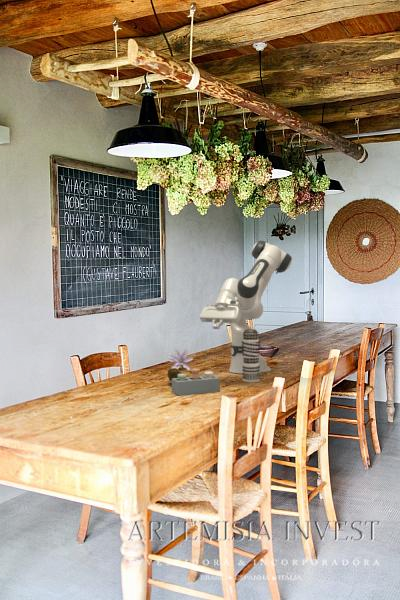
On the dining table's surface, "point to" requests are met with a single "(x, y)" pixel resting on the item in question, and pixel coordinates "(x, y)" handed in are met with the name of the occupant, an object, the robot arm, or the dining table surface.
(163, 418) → the dining table surface
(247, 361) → the decorative candle
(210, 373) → the cream button
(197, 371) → the terracotta button
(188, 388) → the grey slotted holder
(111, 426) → the dining table surface
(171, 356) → the water lily
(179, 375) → the sage button
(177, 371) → the potato
